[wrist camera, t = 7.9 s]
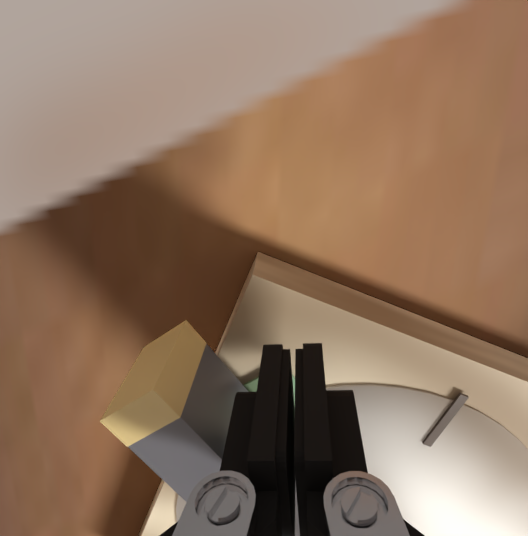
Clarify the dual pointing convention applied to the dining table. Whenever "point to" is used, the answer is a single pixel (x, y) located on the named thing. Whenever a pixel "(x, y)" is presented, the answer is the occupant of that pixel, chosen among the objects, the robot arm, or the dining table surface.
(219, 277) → the dining table surface
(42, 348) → the dining table surface
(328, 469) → the robot arm
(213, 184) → the dining table surface
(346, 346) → the tuner board
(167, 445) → the grey dial pointer
